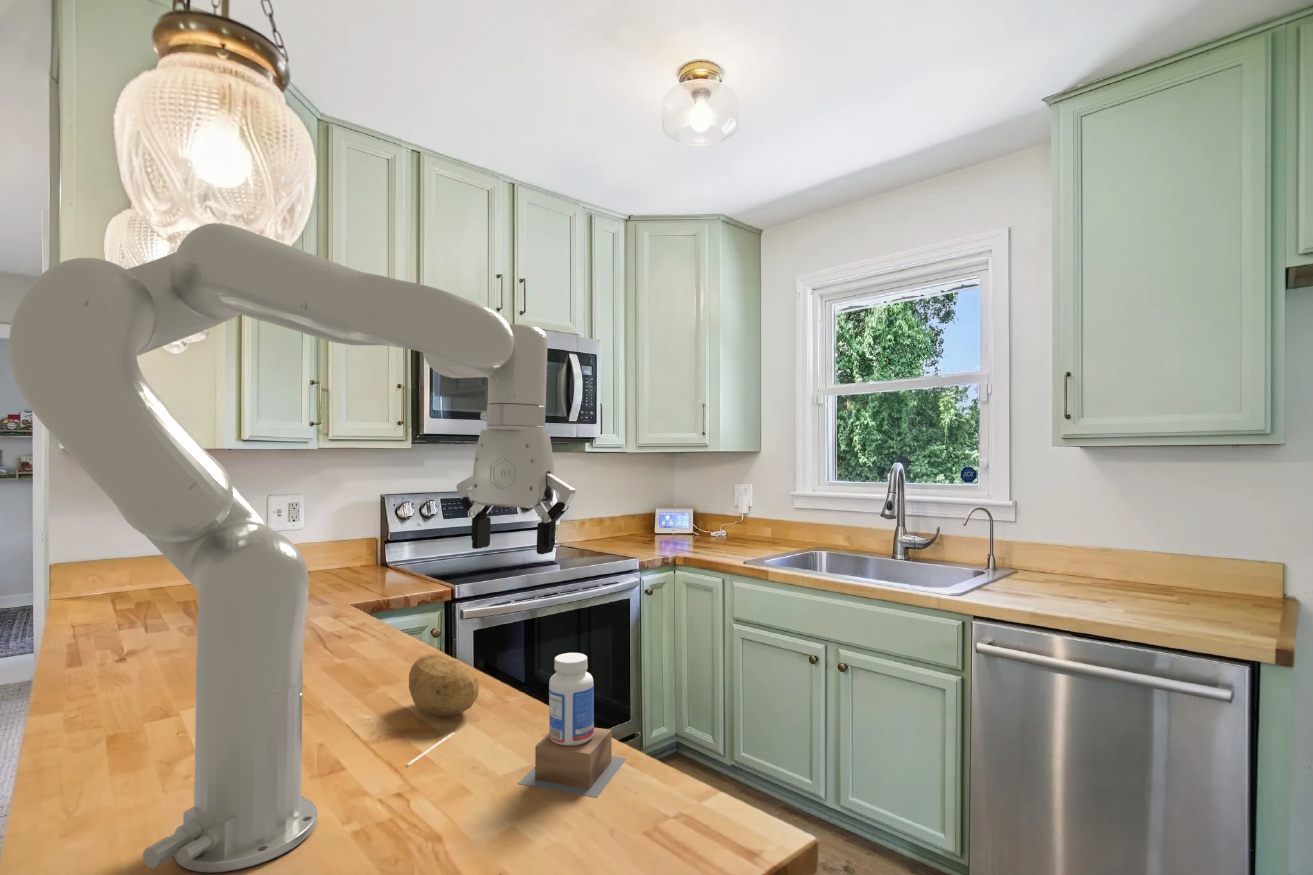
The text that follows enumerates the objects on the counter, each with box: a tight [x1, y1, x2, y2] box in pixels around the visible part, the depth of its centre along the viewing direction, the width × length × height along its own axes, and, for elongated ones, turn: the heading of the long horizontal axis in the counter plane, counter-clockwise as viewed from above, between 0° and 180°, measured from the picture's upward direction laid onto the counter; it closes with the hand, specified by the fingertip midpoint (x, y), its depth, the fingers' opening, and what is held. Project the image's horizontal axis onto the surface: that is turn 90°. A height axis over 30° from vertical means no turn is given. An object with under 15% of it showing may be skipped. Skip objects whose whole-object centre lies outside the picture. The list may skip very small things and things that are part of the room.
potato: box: [408, 653, 480, 717], centre depth 102 cm, size 10×14×8 cm
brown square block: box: [534, 726, 613, 789], centre depth 83 cm, size 7×7×4 cm
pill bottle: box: [548, 652, 595, 746], centre depth 83 cm, size 6×5×10 cm
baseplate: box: [517, 755, 628, 798], centre depth 82 cm, size 10×10×1 cm
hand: (512, 550), depth 89 cm, fingers open, 9 cm apart
